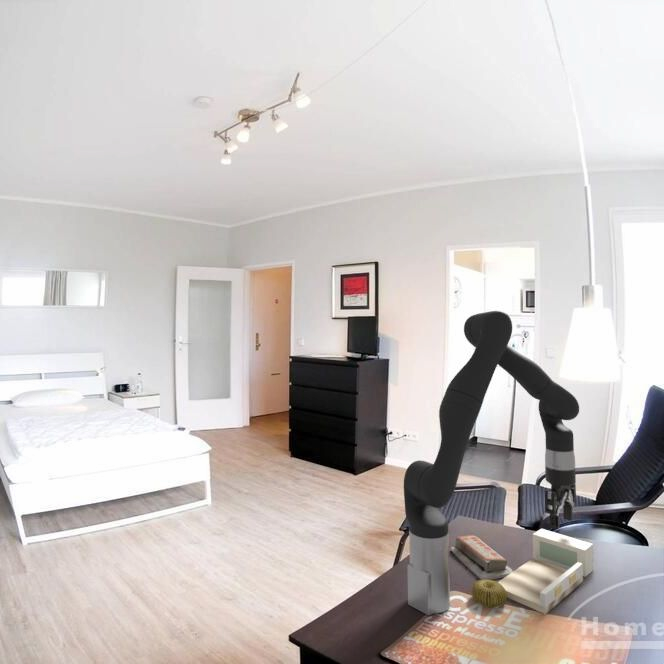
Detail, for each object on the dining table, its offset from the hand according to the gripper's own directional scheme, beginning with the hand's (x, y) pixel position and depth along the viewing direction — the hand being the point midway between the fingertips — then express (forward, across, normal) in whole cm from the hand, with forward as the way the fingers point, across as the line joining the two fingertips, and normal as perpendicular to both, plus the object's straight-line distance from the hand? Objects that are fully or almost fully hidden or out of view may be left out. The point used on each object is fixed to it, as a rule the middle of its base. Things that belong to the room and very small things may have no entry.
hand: (561, 523), depth 129 cm
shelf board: (+11, -16, -1) cm, 20 cm away
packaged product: (+12, -16, +16) cm, 25 cm away
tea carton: (+11, 0, 0) cm, 11 cm away
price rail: (+9, -16, -7) cm, 20 cm away
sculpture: (+11, -31, +4) cm, 33 cm away
